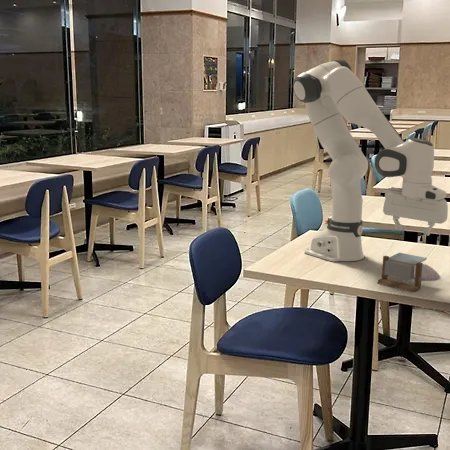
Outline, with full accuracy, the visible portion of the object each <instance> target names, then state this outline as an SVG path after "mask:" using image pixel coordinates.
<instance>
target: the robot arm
mask: <svg viewBox="0 0 450 450" xmlns="http://www.w3.org/2000/svg"><path fill="white" fill-rule="evenodd" d="M292 88H293V89H292V91H293V93H294V95H295V97H296V99H297V100H299V102H301V103H303V104H305V109H306V112H307V115H308V118H309V121H310V123H311V125H312V128H313V130H314V132H315V135H316V137H317V139H318V141H319V143H320V145H321V147H322V148H323V149H324V150H325V151H326V152H327V154H328V155H329V157H330V158H331V160H332V161H331V163H330V164H329V167H328V176H329V181H330V190H331V216H330V217H331V218H328V219H327V220H325V221H324V225H327V226H326V228H324V229H323V230H320V231H319V232H318V233H317V234H315V235H314V236H313V237H312V239H311V241H310V246H308V247H306V248H304V254H306V255H310V256H313V257H316V258H320V259H323V260H326V261H329V262H333V263H335V262H355V261H356V262H357V261H360V260H362V259H364V258H365V256H364V255H365V254H364V251H363V246H362V234H363V227H364V226H363V223H364V221H363V219H362V216H363V202H364V199H363V197H362V187H361V186H362V185H361V184H362V183H361V182H362V181H361V180H362V178H364V176H366V174H367V172H368V170H369V161H368V158H367V156H365V155H364V153H363V151H362V150H361V148H360V146H359V144H358V143H357V141H356V140H355V139H354V137H353V135H352V134H351V132H350V130H349V128H348V126H347V124H346V121H347V122H349V123H351V124H353V125H357V126H360V127H363V128H365V129H367V130H369V131H370V132H371V133H372V134H374V136H375V137H376V138H377V140H378V141H379V142H380V143H381V144H382V146H383V149H382V150H379V152H378V153H377V154H376V156H375V158H374V168H375V170H376V172H377V173H378V174H379V175H380V176H382V177H385V178H396V177H402V186H401V187H393V186H390V187H388V188H386V190H385V191H384V202H383V208H382V213H383V214H384V215H386V216H391V217H392V220H393V223H394V225H395V230H397V231H402V230H403V224H401V223H400V221H399V219H400V218H401V219H402V218H404V219H408V220H409V219H410V220H416V221H421V222H427V225H428V226H427V228H424V229H423V236H430V235H431V230H432V229H433V227H434V226H435V224H440V225H442V224H444V223H446V222H447V220H448V215H449V214H448V212H449V211H448V210H449V209H448V202H447V200H446V199H445V198H447V195H448V194H447V192H446V191H445V190H443V189H442V188H439V187H437V186H435V185H433V178H432V173H433V170H434V165H435V149H434V144H433V143H432V142H431V141H429V140H428V139H423V138H419V137H412V138H411V137H410V138H409V139H408V140H406V141H405V140H404V139H403V137H402V136H401V135H400V133H399V132H398V131H397V130H396V128H395V127H394V125H392V123H391V121H389V119H388V117H386V116H385V115H384V113H383V111H382V110H381V109H380V108H379V106H378V105H377V103H376V101H374V100H373V98H372V96H371V94H370V93H369V92H368V90H367V89H366V86H364V84H363V83H362V81H361V79H359V77H358V76H357V75H356V74H355V73H354V72H353V70H352V67H351V66H350V64H349V63H348V62H347V61H346V60H345V59H340V58H339V59H338V58H337V59H332V60H331V61H328V62H325V63H321V64H319V65H316V66H315V67H312V68H310V69H308V70H307V71H304V72H301V73H299V74H298V75H297V76H296V77H295V78H293V83H292ZM344 119H345V120H346V121H345V120H344Z"/></svg>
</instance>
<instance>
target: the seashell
mask: <svg viewBox="0 0 450 450" xmlns="http://www.w3.org/2000/svg"><path fill="white" fill-rule="evenodd" d="M415 274H416V265H414V277H413V279H415ZM440 277H441V276H440V274H439V273H438V272H437V271H436V270H435V269H434V268H433V267H431V266H429V265H428V264H426V263H423V264H422V275H421V281H430V282H431V281H436V280H439V279H440Z"/></svg>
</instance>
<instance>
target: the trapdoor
mask: <svg viewBox="0 0 450 450" xmlns="http://www.w3.org/2000/svg"><path fill="white" fill-rule="evenodd" d="M426 260H427V257H423V256H418V255H414V254H408V253H403V252H397V253H396V254H393V255H391V256H389V258H388V260H387V261H385V273H384V275H388V276H390V277H394V278H398V279H403V280H407V281H411V280H412V279H414V278H413V277H414V265H416V263H418V262H419V263H423V262H424V261H426Z"/></svg>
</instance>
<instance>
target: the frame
mask: <svg viewBox="0 0 450 450" xmlns="http://www.w3.org/2000/svg"><path fill="white" fill-rule="evenodd" d="M389 257H390V256H388V255H384V256H383V257H382V270H381V278H379V279H377V284H379V285H383V286H386V285H387V287H390V288H395V287H396V288H395V289H400V290H404V291H408V292H412V293H416V292H417V291H419V290H421V285H422V279H421V275H422V264H424V263H423V262H421V263H419V262H418V263H416V274H415V278H414V284H410V283H405V282H401V281H396V280H392V279H388V276H389V275H384V273H385V261H387V260H388V258H389Z"/></svg>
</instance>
